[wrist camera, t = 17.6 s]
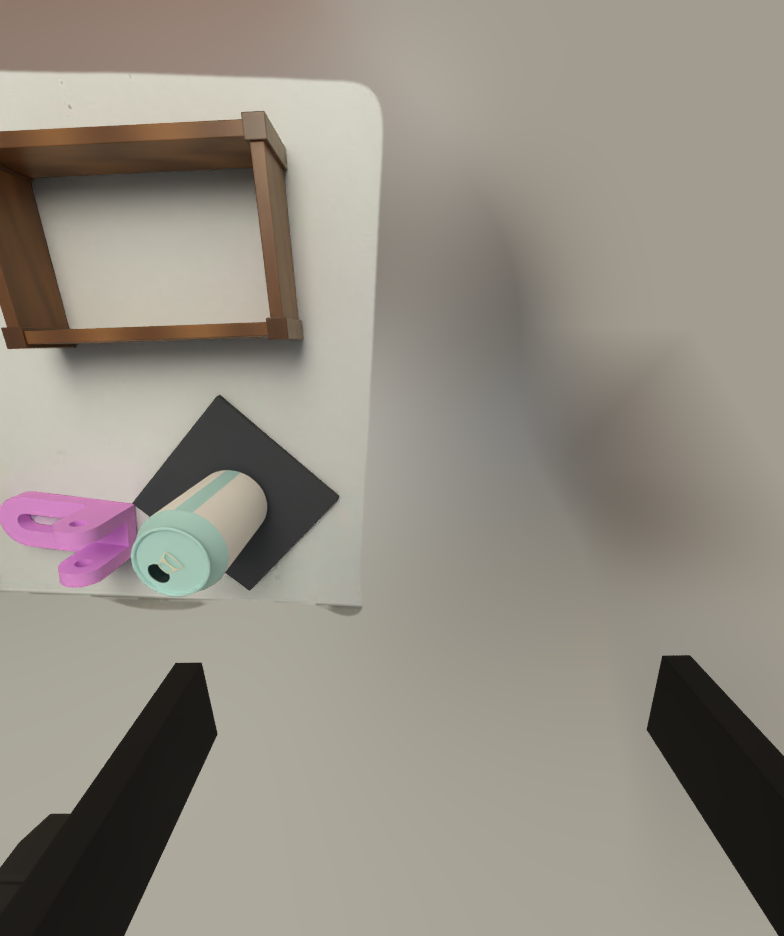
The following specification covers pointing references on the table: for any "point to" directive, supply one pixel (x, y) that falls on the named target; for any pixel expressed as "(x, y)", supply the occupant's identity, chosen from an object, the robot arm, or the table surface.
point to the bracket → (74, 532)
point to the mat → (258, 456)
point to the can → (198, 534)
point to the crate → (135, 151)
